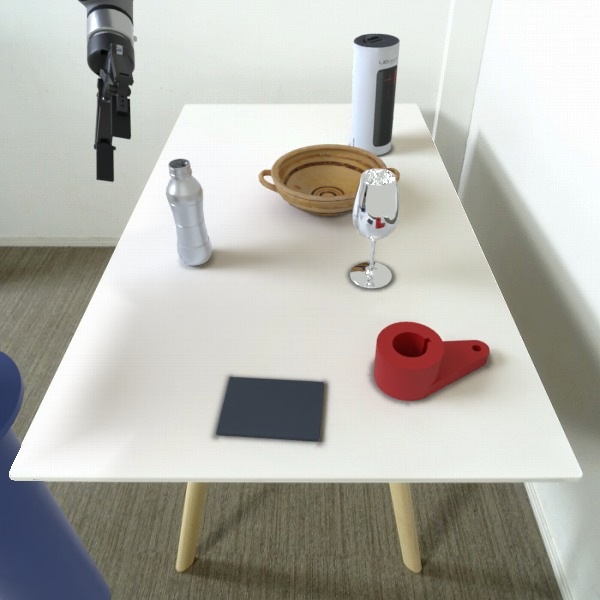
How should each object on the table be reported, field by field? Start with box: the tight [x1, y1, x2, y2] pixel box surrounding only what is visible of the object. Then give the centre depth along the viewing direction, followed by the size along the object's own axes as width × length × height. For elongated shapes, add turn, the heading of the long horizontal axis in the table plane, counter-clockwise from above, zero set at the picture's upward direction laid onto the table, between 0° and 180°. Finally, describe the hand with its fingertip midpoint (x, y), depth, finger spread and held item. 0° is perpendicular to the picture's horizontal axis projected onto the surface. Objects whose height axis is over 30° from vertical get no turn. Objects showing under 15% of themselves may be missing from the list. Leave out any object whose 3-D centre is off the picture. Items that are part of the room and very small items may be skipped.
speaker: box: [349, 33, 401, 157], centre depth 130 cm, size 11×10×26 cm
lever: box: [373, 321, 491, 402], centre depth 80 cm, size 18×9×7 cm, turn 106°
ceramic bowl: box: [258, 143, 401, 217], centre depth 117 cm, size 30×24×8 cm
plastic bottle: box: [165, 158, 213, 266], centre depth 98 cm, size 6×7×20 cm
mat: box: [215, 376, 325, 442], centre depth 78 cm, size 14×10×1 cm
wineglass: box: [349, 168, 400, 290], centre depth 93 cm, size 8×8×20 cm
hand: (112, 160), depth 86 cm, fingers open, 13 cm apart
